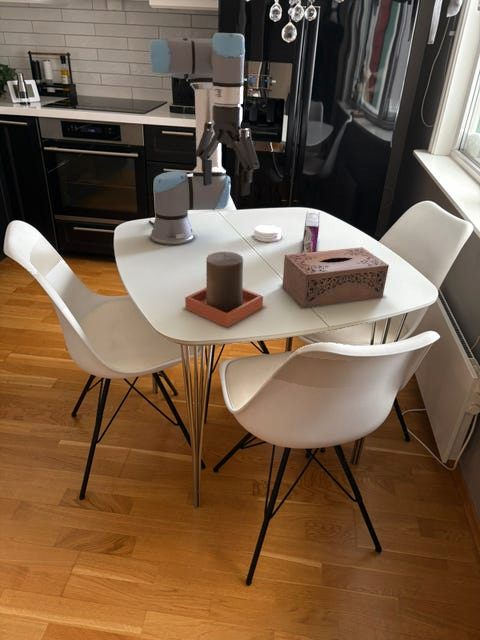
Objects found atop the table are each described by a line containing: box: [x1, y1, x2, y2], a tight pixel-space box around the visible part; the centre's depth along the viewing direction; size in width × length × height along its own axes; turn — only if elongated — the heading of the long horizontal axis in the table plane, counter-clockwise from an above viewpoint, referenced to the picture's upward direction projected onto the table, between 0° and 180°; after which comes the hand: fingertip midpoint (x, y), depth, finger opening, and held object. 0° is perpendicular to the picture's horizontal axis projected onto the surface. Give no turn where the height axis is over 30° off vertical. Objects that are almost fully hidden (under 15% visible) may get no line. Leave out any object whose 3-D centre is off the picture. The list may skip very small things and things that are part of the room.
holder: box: [184, 287, 264, 328], centre depth 132 cm, size 15×15×4 cm
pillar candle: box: [205, 251, 244, 313], centre depth 128 cm, size 10×10×15 cm
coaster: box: [253, 224, 282, 243], centre depth 181 cm, size 10×10×4 cm
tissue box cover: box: [281, 246, 390, 309], centre depth 141 cm, size 26×14×10 cm, turn 108°
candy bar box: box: [301, 211, 321, 253], centre depth 171 cm, size 11×5×16 cm
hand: (225, 189), depth 132 cm, fingers open, 13 cm apart
